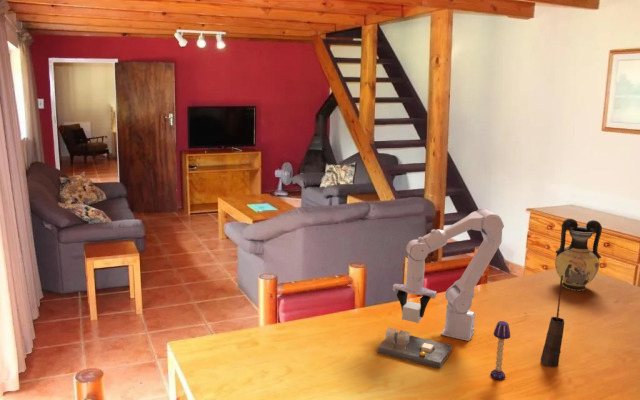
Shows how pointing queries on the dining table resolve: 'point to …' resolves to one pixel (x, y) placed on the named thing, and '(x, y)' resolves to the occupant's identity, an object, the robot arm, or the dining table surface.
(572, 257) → the amphora
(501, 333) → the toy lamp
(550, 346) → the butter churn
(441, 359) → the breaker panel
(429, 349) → the button
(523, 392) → the dining table surface
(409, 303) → the cap
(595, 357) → the dining table surface
